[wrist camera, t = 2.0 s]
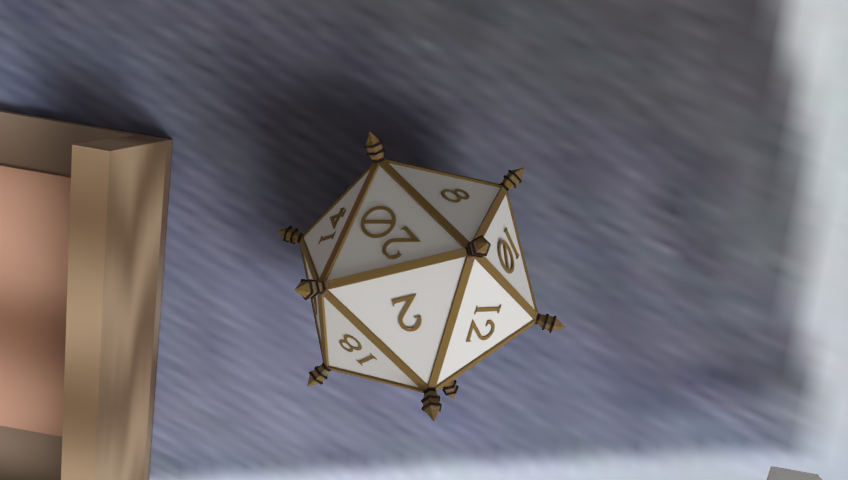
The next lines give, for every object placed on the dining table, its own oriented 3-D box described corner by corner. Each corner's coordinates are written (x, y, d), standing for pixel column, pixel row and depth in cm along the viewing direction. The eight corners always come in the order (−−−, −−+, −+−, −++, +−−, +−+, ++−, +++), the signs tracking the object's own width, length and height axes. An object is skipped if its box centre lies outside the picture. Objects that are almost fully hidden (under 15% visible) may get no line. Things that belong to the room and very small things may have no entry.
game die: (383, 233, 29) (172, 238, 21) (521, 106, 24) (317, 52, 16) (477, 420, 26) (272, 507, 18) (655, 316, 21) (484, 370, 13)
